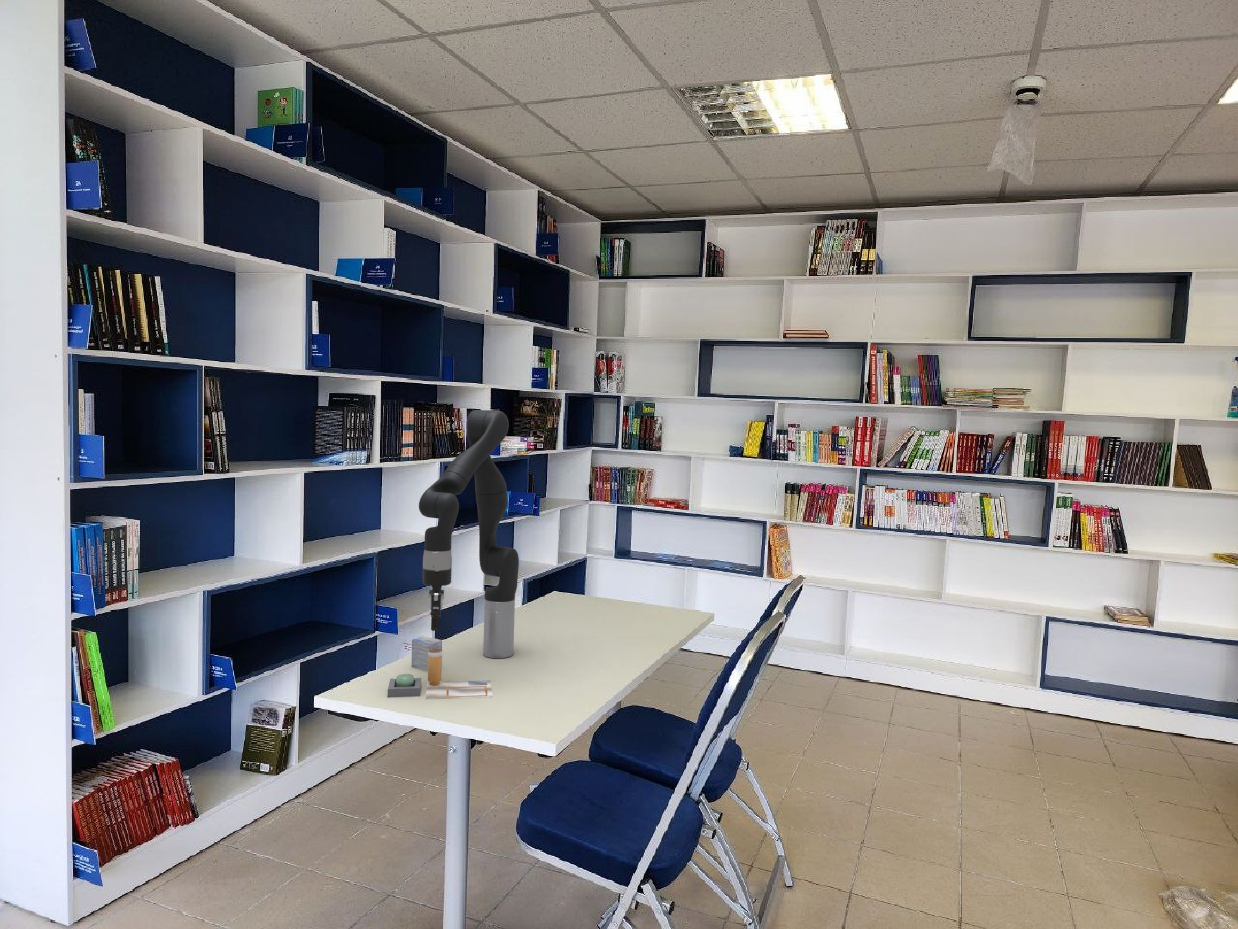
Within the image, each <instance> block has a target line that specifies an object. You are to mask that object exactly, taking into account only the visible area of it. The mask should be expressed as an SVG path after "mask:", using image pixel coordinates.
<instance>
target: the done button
mask: <svg viewBox="0 0 1238 929" xmlns="http://www.w3.org/2000/svg"><path fill="white" fill-rule="evenodd" d="M414 676H415V675H413V674H410V673H404V674H398V675H397V676H396V678H395V679H396V687H413V686H414V678H415V677H414Z"/></svg>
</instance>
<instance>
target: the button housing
mask: <svg viewBox="0 0 1238 929" xmlns="http://www.w3.org/2000/svg"><path fill="white" fill-rule="evenodd" d="M421 688H422V677H414V686H413V687H396V678H390V679H389V682H388V688H387V698H404V697H405V698H406V697H407V698H409V697H420V696H421V691H422V690H421Z"/></svg>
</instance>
